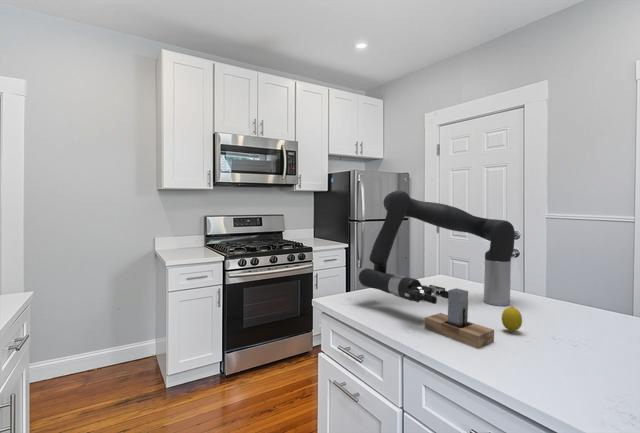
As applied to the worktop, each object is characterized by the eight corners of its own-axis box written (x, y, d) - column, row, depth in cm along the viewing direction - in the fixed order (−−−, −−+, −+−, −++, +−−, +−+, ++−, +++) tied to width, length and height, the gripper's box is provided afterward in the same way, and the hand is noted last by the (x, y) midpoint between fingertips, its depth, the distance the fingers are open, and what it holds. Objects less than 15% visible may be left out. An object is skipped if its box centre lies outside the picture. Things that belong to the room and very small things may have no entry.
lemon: (524, 336, 103) (525, 309, 102) (504, 334, 104) (505, 308, 103) (517, 329, 108) (518, 304, 108) (498, 328, 109) (499, 303, 109)
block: (455, 326, 106) (456, 288, 106) (467, 330, 103) (468, 291, 102) (447, 329, 104) (448, 290, 103) (459, 333, 101) (460, 293, 100)
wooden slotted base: (440, 323, 113) (440, 312, 113) (493, 341, 98) (494, 329, 98) (424, 328, 108) (424, 317, 108) (478, 348, 94) (478, 335, 94)
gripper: (390, 279, 116) (430, 289, 103) (417, 274, 124) (458, 283, 111) (390, 301, 116) (429, 314, 103) (417, 294, 124) (457, 306, 111)
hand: (444, 298), depth 107 cm, fingers open, 8 cm apart
